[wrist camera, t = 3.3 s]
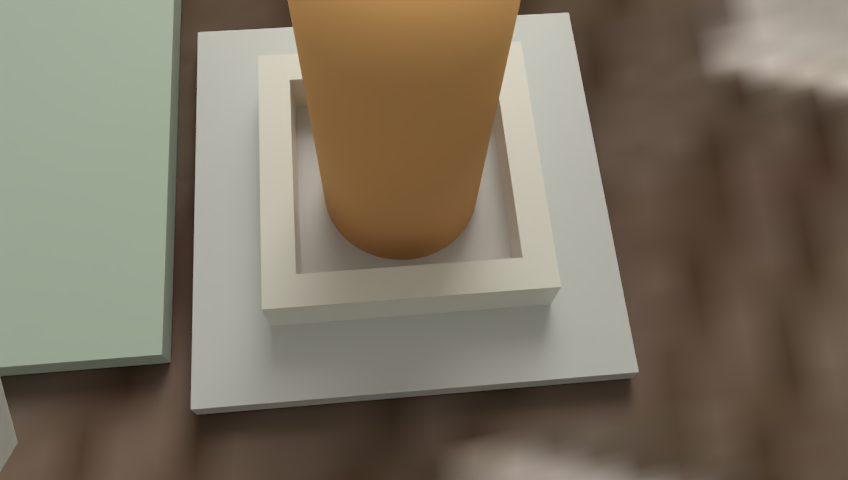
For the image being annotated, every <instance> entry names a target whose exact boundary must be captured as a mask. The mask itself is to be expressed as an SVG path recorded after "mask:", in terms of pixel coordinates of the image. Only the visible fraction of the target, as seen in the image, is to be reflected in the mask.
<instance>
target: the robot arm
mask: <svg viewBox="0 0 848 480" xmlns="http://www.w3.org/2000/svg"><path fill="white" fill-rule="evenodd" d="M17 443H18V442H17V438H16V435H15V431H14V427H13V423H12V420H11V416H10V412H9V408H8V405H7V401H6V397H5V393H4V390H3V386H2V382H1V378H0V472H1V470H2V468H3V466H4V465H5V463H6V461H7V460H8V458H9V456H10V455H11V453H12V451H13V450H14V448H15V446H16V445H17Z"/></svg>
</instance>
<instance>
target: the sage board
mask: <svg viewBox="0 0 848 480" xmlns="http://www.w3.org/2000/svg"><path fill="white" fill-rule="evenodd" d="M180 28H181V0H0V376H10V375H22V374H35V373H47V372H60V371H73V370H85V369H98V368H110V367H123V366H135V365H148V364H161V363H171V332H172V298H173V265H174V231H175V197H176V163H177V129H178V96H179V62H180Z"/></svg>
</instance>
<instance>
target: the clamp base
mask: <svg viewBox="0 0 848 480" xmlns="http://www.w3.org/2000/svg"><path fill="white" fill-rule="evenodd" d="M638 372H639V371H638V366H637V361H636V356H635V350H634V345H633V340H632V335H631V330H630V325H629V320H628V314H627V309H626V304H625V299H624V294H623V289H622V284H621V279H620V273H619V268H618V263H617V258H616V253H615V248H614V243H613V238H612V232H611V227H610V222H609V217H608V212H607V207H606V202H605V197H604V191H603V186H602V181H601V176H600V171H599V166H598V161H597V156H596V150H595V145H594V140H593V135H592V130H591V125H590V120H589V115H588V109H587V104H586V99H585V94H584V89H583V84H582V79H581V73H580V68H579V63H578V58H577V53H576V48H575V43H574V38H573V32H572V27H571V22H570V17H569V13H553V14H535V15H517V19H516V23H515V28H514V32H513V37H512V41H511V46H510V50H509V55H508V59H507V64H506V69H505V73H504V78H503V82H502V87H501V91H500V96H499V100H498V105H497V109H496V114H495V119H494V123H493V128H492V132H491V137H490V141H489V146H488V150H487V155H486V159H485V164H484V168H483V173H482V178H481V182H480V187H479V191H478V196H477V200H476V205H475V209H474V212H473V214H472V217H471V219H470V221H469V223H468V225H467V226H466V228H465V229H464V230H463V232H462V233H461V234H460V235H459V236H458V237H457V238H456V239H455V240H454V241H453V242H452V243H450V244H449V245H448V246H446V247H445V248H443V249H441V250H439V251H438V252H435V253H433V254H430V255H428V256H425V257H421V258H416V259H409V260H394V259H386V258H382V257H377V256H374V255H372V254H369V253H367V252H365V251H363V250H361V249H359V248H357V247H356V246H354V245H353V244H352V243H350V242H349V241H348V240H347V239H346V238H345V237H344V236H343V235H342V234H341V233H340V232H339V231H338V229H337V228H336V226H335V225H334V223H333V222H332V220H331V218H330V215H329V213H328V210H327V207H326V203H325V197H324V192H323V187H322V181H321V176H320V171H319V165H318V160H317V154H316V149H315V144H314V138H313V133H312V128H311V122H310V117H309V111H308V106H307V101H306V95H305V90H304V85H303V79H302V74H301V68H300V63H299V58H298V52H297V47H296V41H295V36H294V31H293V27H289V28H270V29H251V30H232V31H213V32H198V59H197V110H196V162H195V213H194V265H193V316H192V367H191V410H192V411H193V412H194V413H196V414H197V415H200V414H212V413H224V412H236V411H248V410H260V409H272V408H284V407H296V406H308V405H319V404H331V403H343V402H355V401H367V400H379V399H391V398H403V397H415V396H427V395H439V394H451V393H463V392H474V391H486V390H498V389H510V388H522V387H534V386H546V385H558V384H570V383H582V382H594V381H606V380H618V379H629V378H632V377H633V376H635V375H636V374H637V373H638Z"/></svg>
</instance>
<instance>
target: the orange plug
mask: <svg viewBox="0 0 848 480" xmlns="http://www.w3.org/2000/svg"><path fill="white" fill-rule="evenodd" d="M288 4H289V9H290V15H291V20H292V25H293V31H294V36H295V41H296V47H297V52H298V58H299V63H300V68H301V74H302V79H303V85H304V90H305V95H306V101H307V106H308V111H309V117H310V122H311V128H312V133H313V138H314V144H315V149H316V154H317V160H318V165H319V171H320V176H321V181H322V187H323V192H324V197H325V203H326V207H327V210H328V213H329V215H330V218H331V220H332V222H333V223H334V225H335V226H336V228H337V229H338V231H339V232H340V233H341V234H342V235H343V236H344V237H345V238H346V239H347V240H348V241H349V242H350V243H352V244H353V245H354V246H356V247H357V248H359V249H361V250H363V251H365V252H367V253H369V254H372V255H374V256H377V257H382V258H386V259H394V260H409V259H416V258H421V257H425V256H428V255H430V254H433V253H435V252H438V251H439V250H441V249H443V248H445V247H446V246H448V245H449V244H450V243H452V242H453V241H454V240H455V239H456V238H457V237H458V236H459V235H460V234H461V233H462V232H463V230H464V229H465V228H466V226H467V225H468V223H469V221H470V219H471V217H472V214H473V212H474V209H475V205H476V200H477V196H478V191H479V187H480V182H481V178H482V173H483V168H484V164H485V159H486V155H487V150H488V146H489V141H490V137H491V132H492V128H493V123H494V119H495V114H496V109H497V105H498V100H499V96H500V91H501V87H502V82H503V78H504V73H505V69H506V64H507V59H508V55H509V50H510V46H511V41H512V37H513V32H514V28H515V23H516V19H517V14H518V9H519V5H520V0H288Z"/></svg>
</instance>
